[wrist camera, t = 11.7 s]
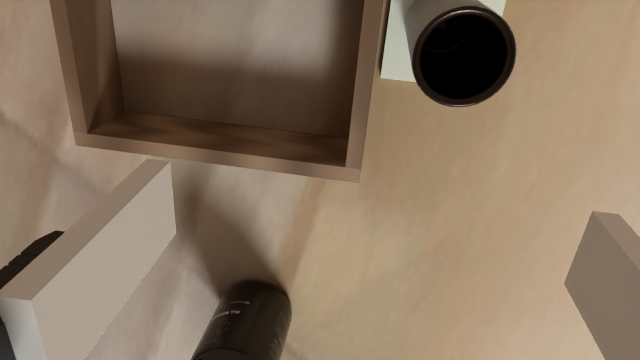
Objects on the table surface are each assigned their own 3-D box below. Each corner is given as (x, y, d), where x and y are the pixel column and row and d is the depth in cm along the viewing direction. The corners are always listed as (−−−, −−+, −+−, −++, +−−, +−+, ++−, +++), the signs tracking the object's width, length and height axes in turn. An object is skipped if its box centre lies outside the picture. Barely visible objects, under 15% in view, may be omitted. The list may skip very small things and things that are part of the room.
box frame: (113, 121, 37) (75, 145, 33) (88, -62, 31) (38, -63, 27) (363, 153, 35) (358, 183, 31) (387, -35, 29) (386, -32, 25)
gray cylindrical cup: (390, 31, 30) (391, 70, 21) (437, -31, 28) (459, -18, 19) (444, 72, 31) (466, 126, 22) (493, 14, 29) (540, 47, 20)
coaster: (380, 75, 32) (380, 77, 32) (398, -52, 29) (398, -52, 28) (482, 87, 32) (484, 89, 31) (514, -42, 28) (516, -42, 28)
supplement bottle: (238, 265, 42) (186, 373, 31) (305, 298, 43) (276, 415, 32) (212, 313, 45) (156, 426, 34) (274, 343, 46) (238, 463, 35)
